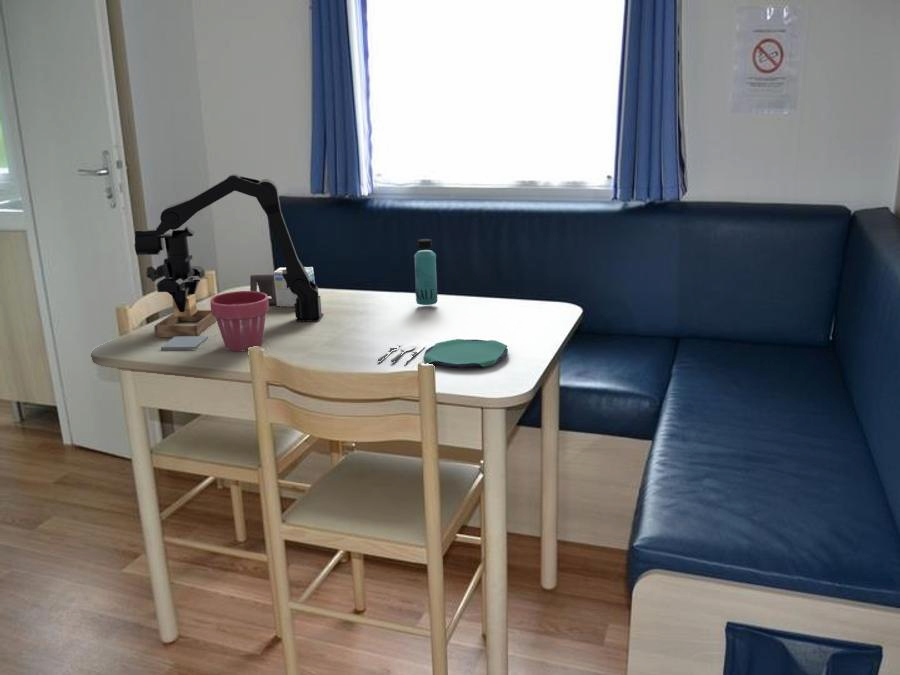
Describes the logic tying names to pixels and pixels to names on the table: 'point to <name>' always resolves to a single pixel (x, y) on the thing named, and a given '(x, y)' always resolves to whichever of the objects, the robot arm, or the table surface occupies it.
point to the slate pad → (184, 342)
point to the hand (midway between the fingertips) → (185, 309)
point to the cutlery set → (462, 353)
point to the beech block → (186, 306)
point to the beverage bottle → (425, 274)
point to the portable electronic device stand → (264, 286)
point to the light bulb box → (282, 292)
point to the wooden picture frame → (171, 330)
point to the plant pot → (240, 318)
